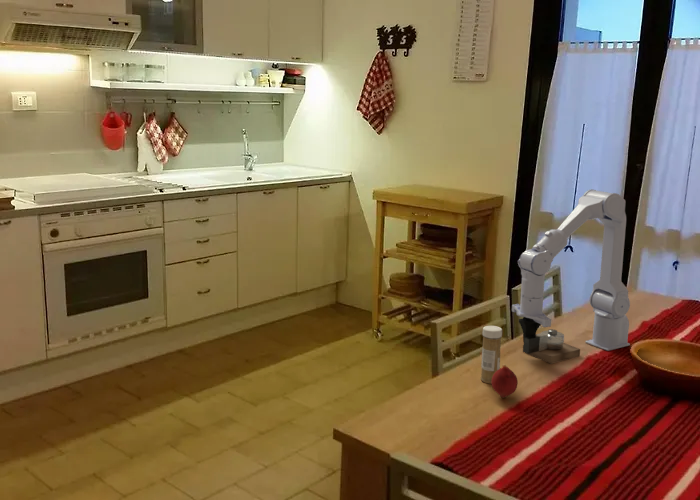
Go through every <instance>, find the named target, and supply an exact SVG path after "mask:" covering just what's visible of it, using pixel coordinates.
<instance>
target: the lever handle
mask: <svg viewBox="0 0 700 500" xmlns="http://www.w3.org/2000/svg"><path fill="white" fill-rule="evenodd" d="M564 340H565V334H564V333H563V332H560V331H558V330H557V329H552V328H551V329H548V330H543V331H541V332H540V333H536V335H532V336H528V337H524V342H523V345H524V347H523V346H522V353H524V352H525V353H524V354H526V355H529V354H530V353H534V352H537V351H541V350H545V349H562V348H563V343H565V342H564Z"/></svg>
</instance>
